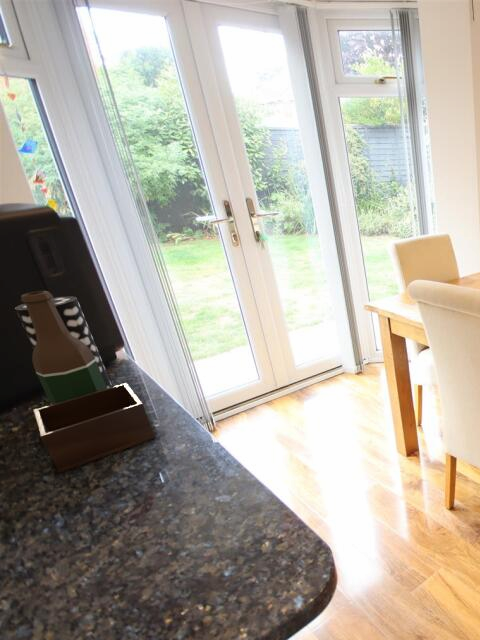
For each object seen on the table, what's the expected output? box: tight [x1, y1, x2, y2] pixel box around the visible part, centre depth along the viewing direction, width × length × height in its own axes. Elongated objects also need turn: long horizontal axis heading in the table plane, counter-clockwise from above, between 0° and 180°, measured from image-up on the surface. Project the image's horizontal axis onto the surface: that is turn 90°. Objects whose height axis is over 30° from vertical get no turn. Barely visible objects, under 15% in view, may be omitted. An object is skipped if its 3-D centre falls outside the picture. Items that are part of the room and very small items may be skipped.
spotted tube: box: [14, 296, 113, 388], centre depth 88 cm, size 8×8×20 cm
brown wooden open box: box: [33, 382, 156, 474], centre depth 76 cm, size 12×12×7 cm
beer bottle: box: [20, 290, 107, 405], centre depth 80 cm, size 8×8×24 cm
